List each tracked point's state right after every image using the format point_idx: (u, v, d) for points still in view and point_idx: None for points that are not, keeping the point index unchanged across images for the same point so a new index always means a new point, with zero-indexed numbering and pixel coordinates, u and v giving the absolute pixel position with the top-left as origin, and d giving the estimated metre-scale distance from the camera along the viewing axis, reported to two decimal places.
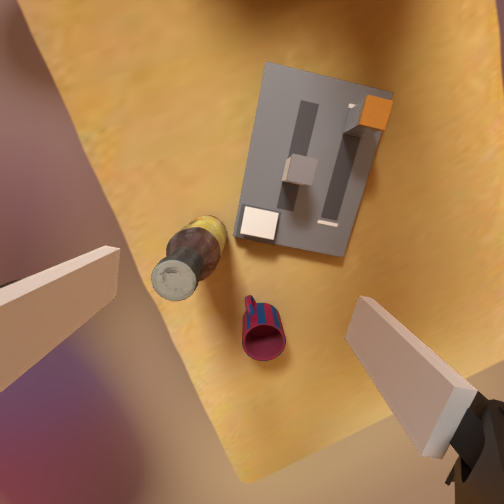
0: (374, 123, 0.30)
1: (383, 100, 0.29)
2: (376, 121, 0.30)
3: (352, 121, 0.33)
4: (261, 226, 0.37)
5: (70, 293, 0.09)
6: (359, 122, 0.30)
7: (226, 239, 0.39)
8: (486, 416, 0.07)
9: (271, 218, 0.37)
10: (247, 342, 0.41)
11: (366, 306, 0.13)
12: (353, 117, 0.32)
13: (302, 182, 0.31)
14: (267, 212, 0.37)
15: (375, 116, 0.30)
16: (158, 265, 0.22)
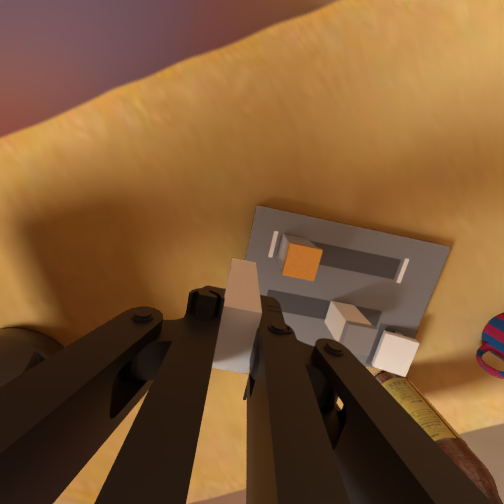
0: (314, 263, 0.24)
1: (289, 256, 0.24)
2: (312, 261, 0.24)
3: None
4: (400, 354, 0.32)
5: None
6: None
7: (403, 379, 0.35)
8: (260, 337, 0.08)
9: (391, 341, 0.32)
10: None
11: (243, 267, 0.15)
12: None
13: (373, 339, 0.26)
14: (383, 345, 0.32)
15: (306, 263, 0.24)
16: None
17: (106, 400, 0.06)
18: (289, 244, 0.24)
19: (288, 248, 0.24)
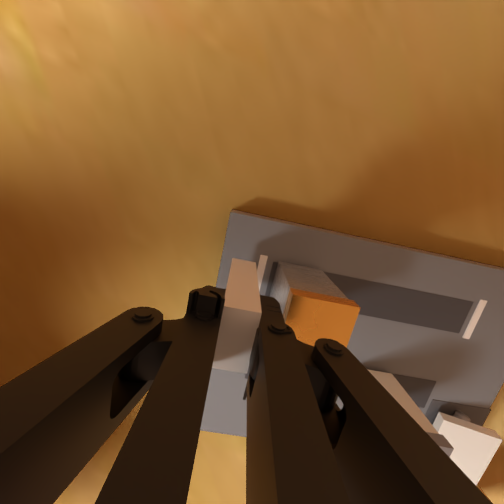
0: (341, 333, 0.12)
1: (290, 319, 0.12)
2: (337, 330, 0.12)
3: None
4: (467, 453, 0.19)
5: None
6: None
7: None
8: (260, 337, 0.08)
9: (453, 434, 0.19)
10: None
11: (243, 267, 0.15)
12: None
13: None
14: None
15: (326, 333, 0.12)
16: None
17: (106, 400, 0.06)
18: (291, 295, 0.12)
19: (289, 303, 0.12)
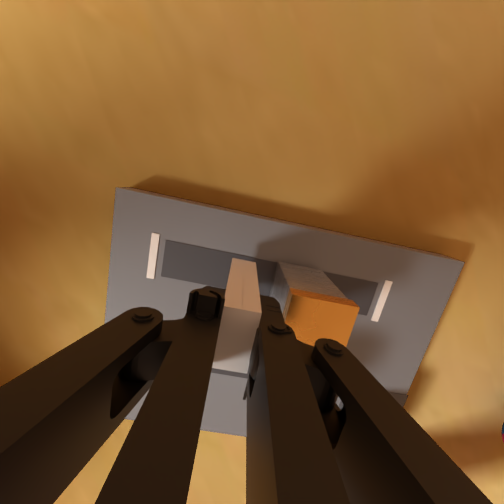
0: (340, 332, 0.12)
1: (290, 319, 0.12)
2: (337, 329, 0.12)
3: None
4: None
5: None
6: None
7: None
8: (260, 337, 0.08)
9: None
10: None
11: (243, 267, 0.15)
12: None
13: None
14: None
15: (325, 333, 0.12)
16: None
17: (107, 400, 0.06)
18: (290, 295, 0.12)
19: (288, 303, 0.12)
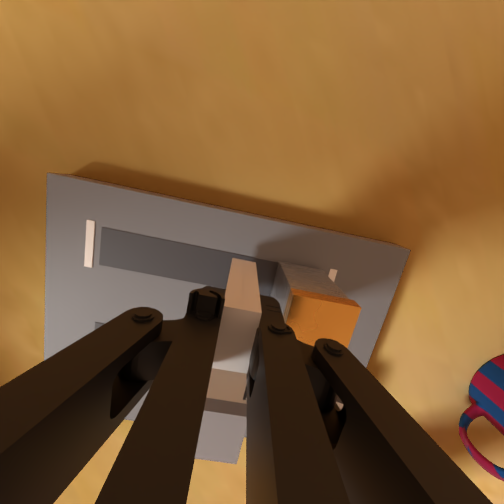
0: (342, 333, 0.12)
1: (291, 319, 0.12)
2: (338, 330, 0.12)
3: None
4: None
5: None
6: None
7: None
8: (260, 337, 0.08)
9: None
10: None
11: (243, 267, 0.15)
12: None
13: (241, 435, 0.13)
14: None
15: (327, 333, 0.12)
16: None
17: (107, 400, 0.06)
18: (292, 295, 0.12)
19: (289, 303, 0.12)
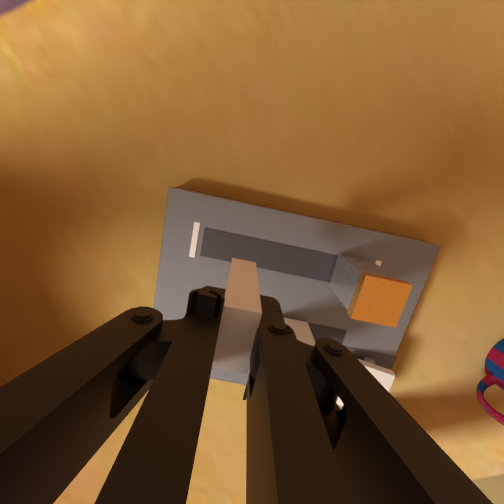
0: (398, 303, 0.17)
1: (363, 292, 0.17)
2: (395, 300, 0.17)
3: None
4: None
5: None
6: None
7: None
8: (260, 337, 0.08)
9: None
10: None
11: (243, 267, 0.15)
12: None
13: None
14: None
15: (387, 303, 0.17)
16: None
17: (107, 400, 0.06)
18: (363, 276, 0.17)
19: (361, 281, 0.17)
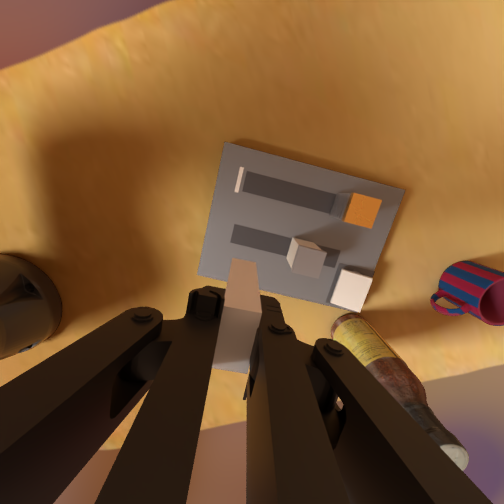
0: (373, 211, 0.27)
1: (351, 204, 0.27)
2: (371, 210, 0.27)
3: None
4: (355, 290, 0.34)
5: None
6: (368, 227, 0.28)
7: (361, 319, 0.37)
8: (260, 337, 0.08)
9: (347, 278, 0.34)
10: (494, 312, 0.34)
11: (243, 267, 0.15)
12: None
13: (322, 262, 0.29)
14: (340, 281, 0.34)
15: (366, 211, 0.27)
16: None
17: (106, 400, 0.06)
18: (352, 194, 0.27)
19: (351, 197, 0.27)
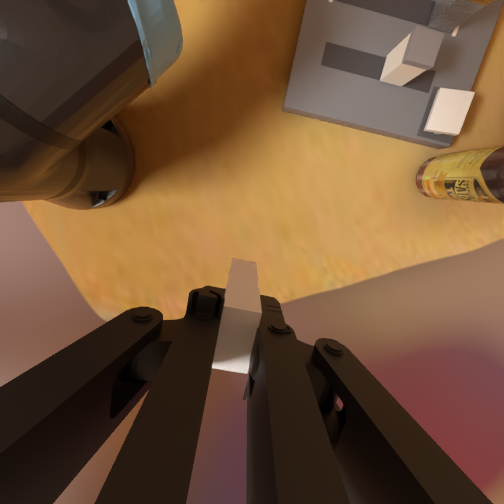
0: None
1: None
2: None
3: (460, 16, 0.29)
4: (454, 108, 0.32)
5: None
6: (489, 1, 0.26)
7: None
8: (260, 337, 0.08)
9: (446, 96, 0.32)
10: None
11: (243, 267, 0.15)
12: (456, 15, 0.29)
13: (438, 45, 0.27)
14: (437, 101, 0.33)
15: None
16: None
17: (106, 400, 0.06)
18: None
19: None
